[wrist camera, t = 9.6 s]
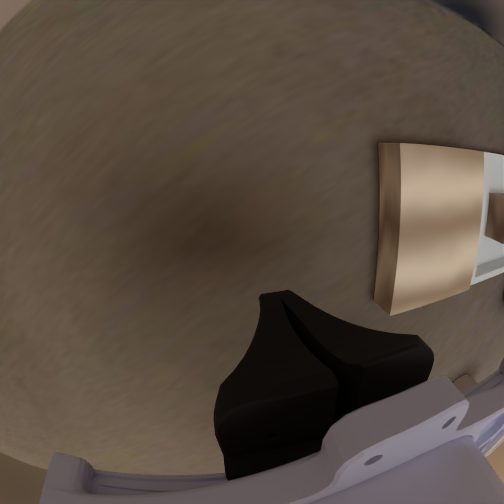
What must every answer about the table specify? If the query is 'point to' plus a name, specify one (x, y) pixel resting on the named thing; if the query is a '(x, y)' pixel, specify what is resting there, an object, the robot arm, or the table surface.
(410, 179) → the tan wooden flat block
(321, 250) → the table surface
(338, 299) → the table surface
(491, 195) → the brown block
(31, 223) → the table surface
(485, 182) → the box
